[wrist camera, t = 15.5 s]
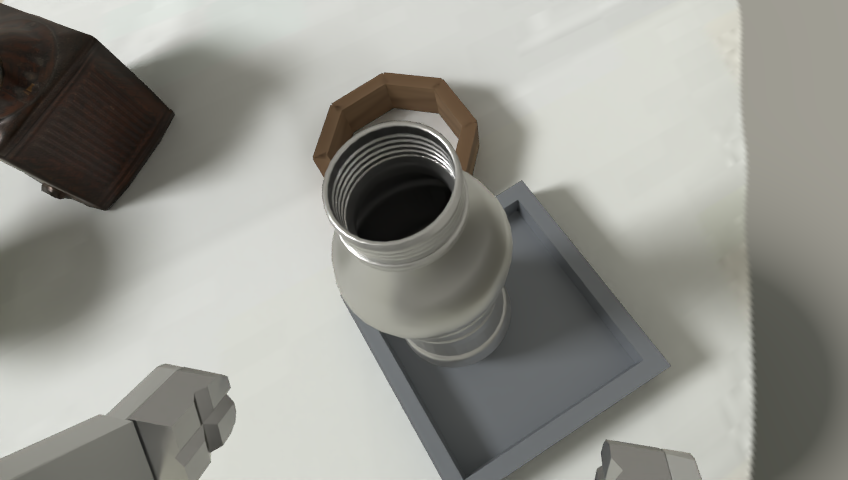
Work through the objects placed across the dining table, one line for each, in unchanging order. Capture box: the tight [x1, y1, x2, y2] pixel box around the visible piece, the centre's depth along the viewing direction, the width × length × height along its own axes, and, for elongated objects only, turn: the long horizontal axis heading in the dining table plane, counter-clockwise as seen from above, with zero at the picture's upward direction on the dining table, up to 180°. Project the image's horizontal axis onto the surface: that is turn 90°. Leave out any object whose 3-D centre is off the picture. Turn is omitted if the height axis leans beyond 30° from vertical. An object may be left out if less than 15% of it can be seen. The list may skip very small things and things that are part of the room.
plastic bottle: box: [322, 121, 513, 368], centre depth 21 cm, size 6×7×20 cm
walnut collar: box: [313, 72, 479, 177], centre depth 35 cm, size 11×11×3 cm
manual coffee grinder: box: [0, 3, 174, 211], centre depth 32 cm, size 16×11×18 cm
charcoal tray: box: [341, 180, 671, 480], centre depth 30 cm, size 14×14×3 cm
